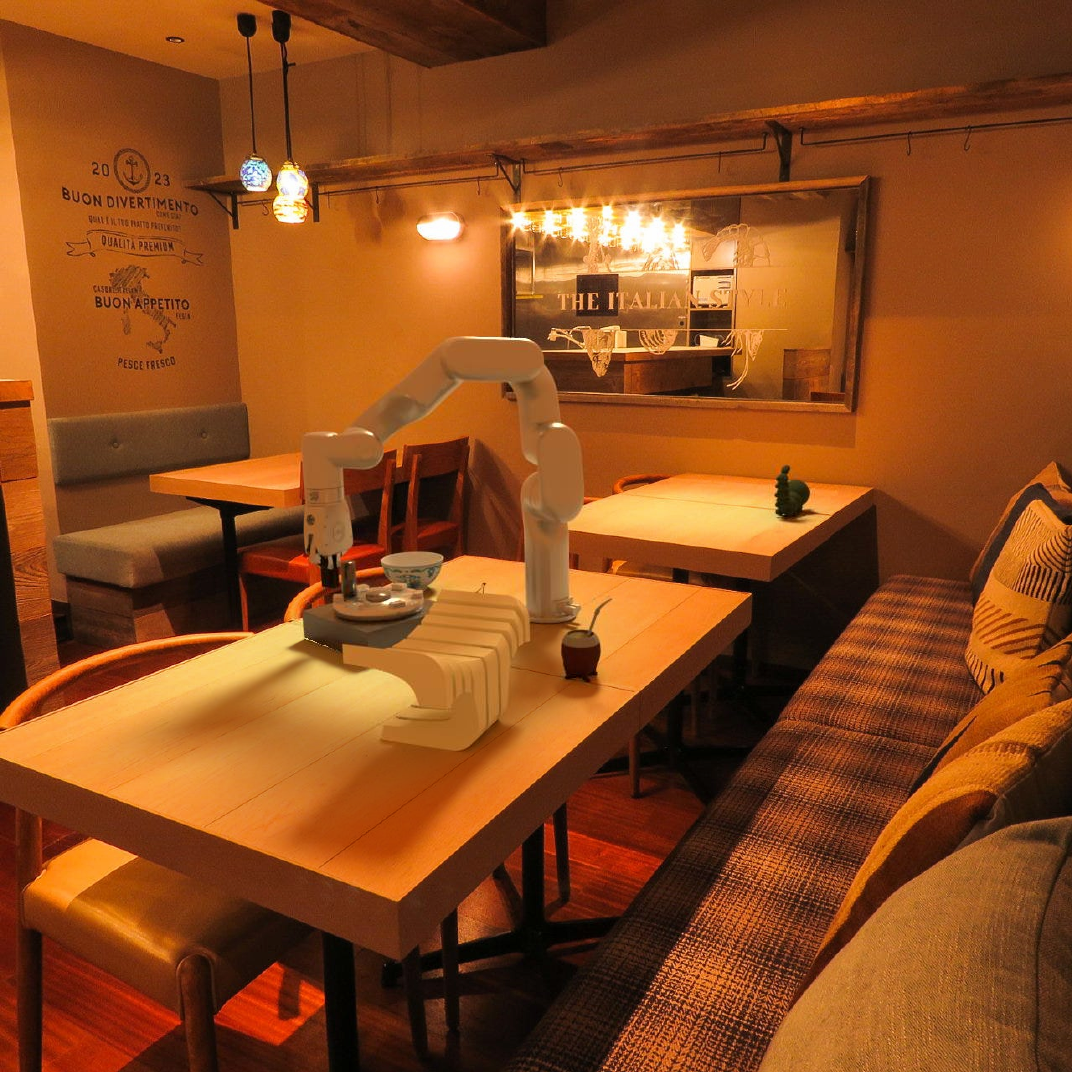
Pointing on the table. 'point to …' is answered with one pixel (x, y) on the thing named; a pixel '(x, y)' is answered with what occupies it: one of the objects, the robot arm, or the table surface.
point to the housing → (358, 628)
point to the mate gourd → (581, 651)
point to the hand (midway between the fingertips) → (330, 586)
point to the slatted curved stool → (452, 668)
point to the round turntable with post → (374, 599)
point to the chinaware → (413, 568)
